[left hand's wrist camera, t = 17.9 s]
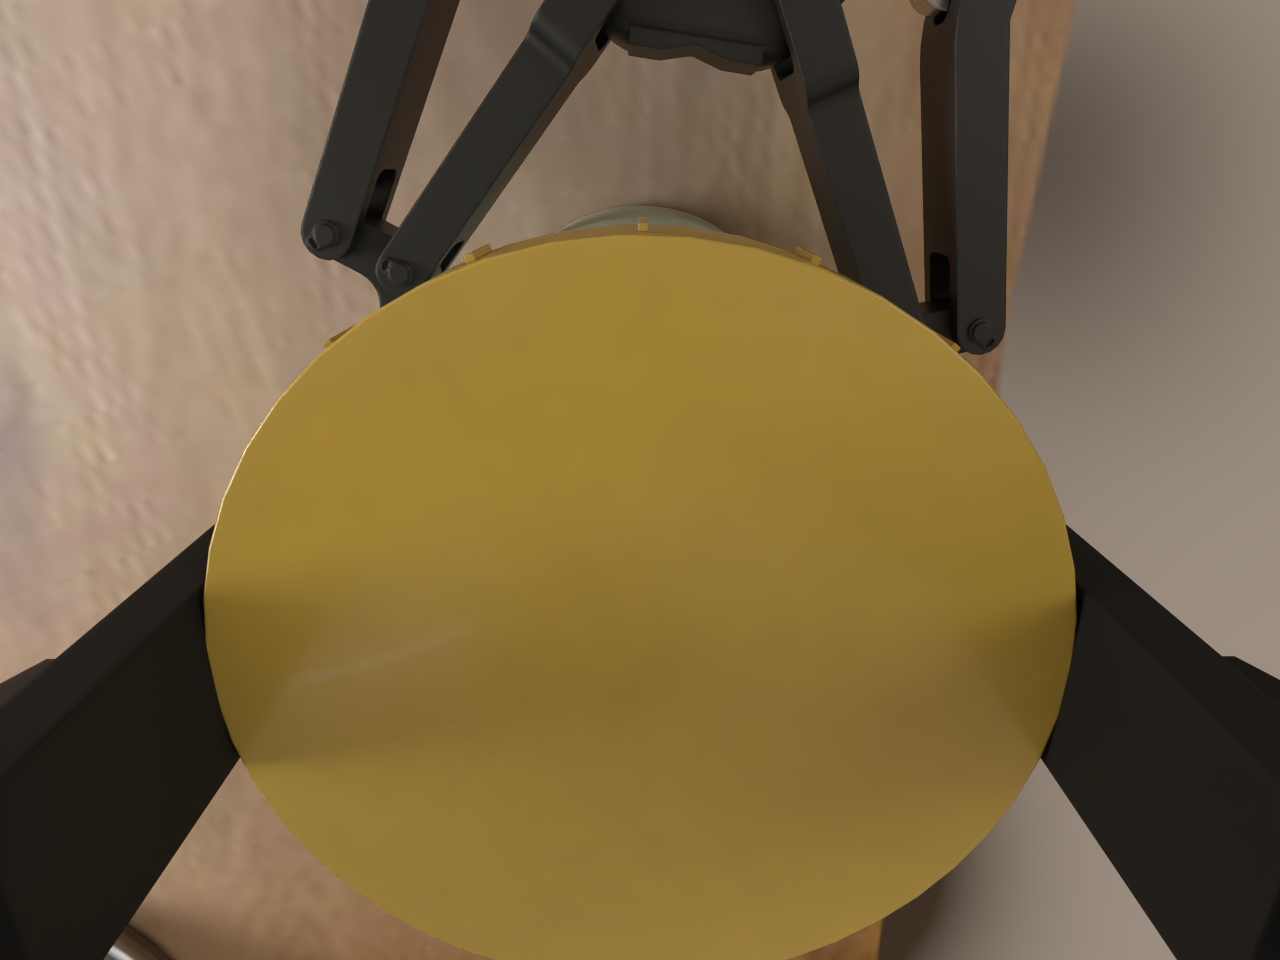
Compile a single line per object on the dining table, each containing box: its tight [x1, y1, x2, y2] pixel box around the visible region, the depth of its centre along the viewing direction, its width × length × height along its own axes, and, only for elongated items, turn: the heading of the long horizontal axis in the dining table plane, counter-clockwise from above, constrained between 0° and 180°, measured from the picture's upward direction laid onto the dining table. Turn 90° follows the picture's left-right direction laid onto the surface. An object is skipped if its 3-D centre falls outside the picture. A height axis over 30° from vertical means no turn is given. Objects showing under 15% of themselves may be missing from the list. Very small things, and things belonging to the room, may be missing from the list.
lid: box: [203, 217, 1077, 960], centre depth 11 cm, size 11×11×2 cm
